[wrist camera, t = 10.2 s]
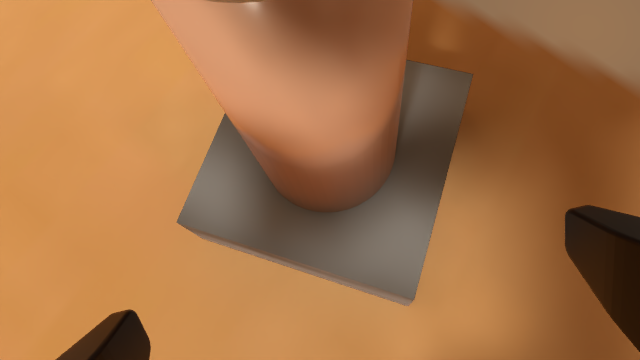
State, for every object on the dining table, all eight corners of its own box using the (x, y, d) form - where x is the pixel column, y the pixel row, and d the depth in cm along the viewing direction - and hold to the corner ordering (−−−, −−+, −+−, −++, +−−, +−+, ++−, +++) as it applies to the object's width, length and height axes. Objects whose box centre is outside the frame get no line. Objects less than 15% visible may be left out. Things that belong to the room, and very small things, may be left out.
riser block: (407, 306, 19) (413, 299, 16) (202, 238, 21) (176, 222, 19) (460, 107, 22) (473, 74, 19) (274, 65, 24) (262, 28, 21)
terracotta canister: (346, 239, 18) (283, 13, 5) (237, 167, 19) (-4, -135, 7) (421, 129, 19) (508, -261, 7) (312, 70, 20) (221, -334, 8)
